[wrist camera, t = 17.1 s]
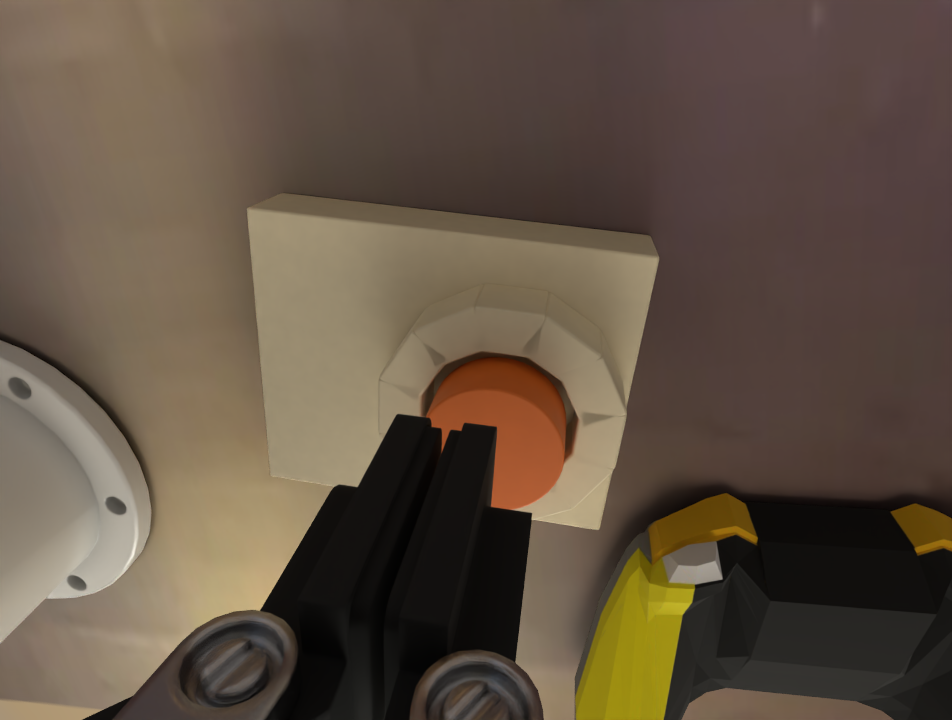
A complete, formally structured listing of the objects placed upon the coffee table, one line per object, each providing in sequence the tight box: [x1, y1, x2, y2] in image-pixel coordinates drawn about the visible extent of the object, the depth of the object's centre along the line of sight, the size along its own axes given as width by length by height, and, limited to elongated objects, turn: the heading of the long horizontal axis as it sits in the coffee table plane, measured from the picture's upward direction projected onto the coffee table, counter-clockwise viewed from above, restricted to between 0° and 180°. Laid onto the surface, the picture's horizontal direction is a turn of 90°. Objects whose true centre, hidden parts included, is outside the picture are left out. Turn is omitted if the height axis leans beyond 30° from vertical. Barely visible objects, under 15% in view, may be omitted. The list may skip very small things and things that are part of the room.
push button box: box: [247, 193, 659, 530], centre depth 18 cm, size 11×9×4 cm
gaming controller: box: [575, 493, 952, 720], centre depth 20 cm, size 15×6×10 cm
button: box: [426, 357, 566, 510], centre depth 16 cm, size 4×4×2 cm
